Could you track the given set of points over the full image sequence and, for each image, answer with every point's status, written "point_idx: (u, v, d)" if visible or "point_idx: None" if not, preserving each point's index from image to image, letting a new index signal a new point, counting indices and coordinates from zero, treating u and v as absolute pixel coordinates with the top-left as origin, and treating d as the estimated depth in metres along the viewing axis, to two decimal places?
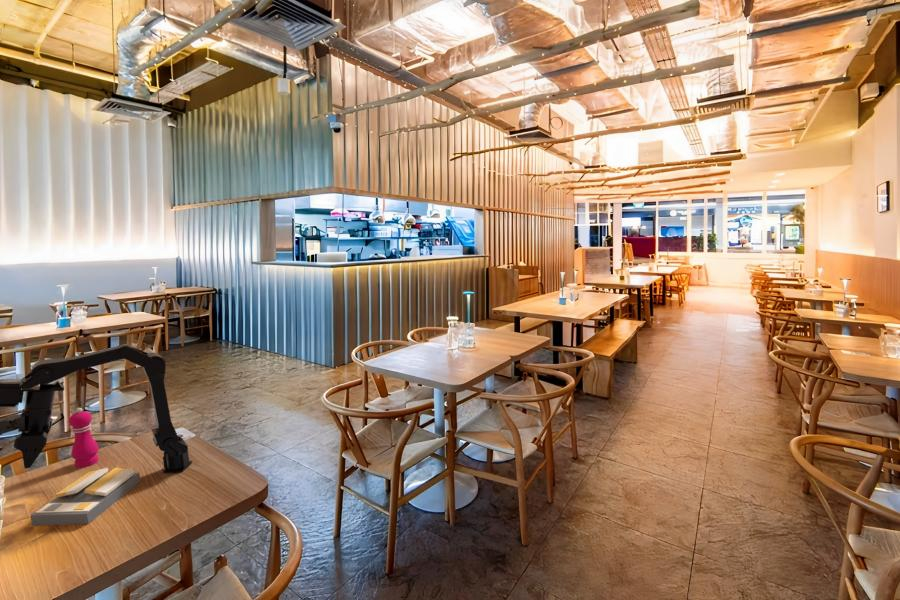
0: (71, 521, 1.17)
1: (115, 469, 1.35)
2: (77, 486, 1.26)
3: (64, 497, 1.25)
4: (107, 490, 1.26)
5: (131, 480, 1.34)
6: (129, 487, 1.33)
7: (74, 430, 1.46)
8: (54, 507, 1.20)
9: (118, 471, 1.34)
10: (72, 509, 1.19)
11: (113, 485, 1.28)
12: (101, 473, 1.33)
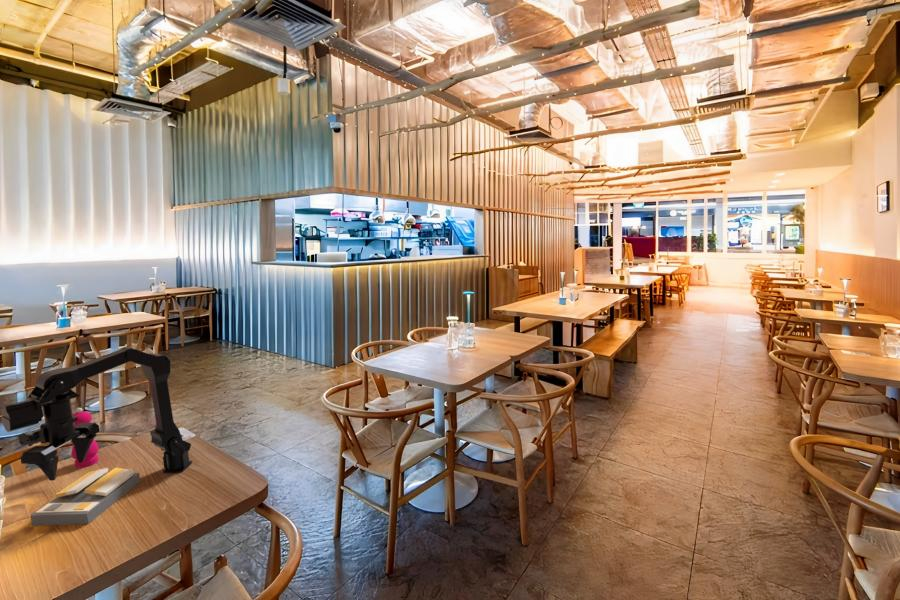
0: (71, 521, 1.17)
1: (115, 469, 1.35)
2: (77, 486, 1.26)
3: (64, 497, 1.25)
4: (107, 490, 1.26)
5: (131, 480, 1.34)
6: (129, 487, 1.33)
7: None
8: (54, 507, 1.20)
9: (118, 471, 1.34)
10: (72, 509, 1.19)
11: (113, 485, 1.28)
12: (101, 473, 1.33)
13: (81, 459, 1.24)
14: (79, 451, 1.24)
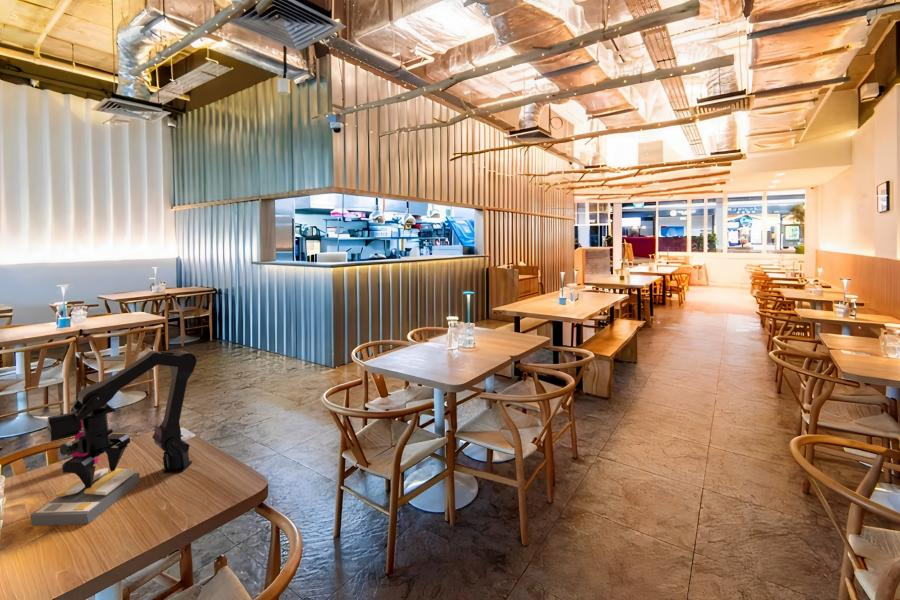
0: (71, 521, 1.17)
1: (115, 470, 1.35)
2: (77, 486, 1.26)
3: (64, 497, 1.25)
4: (107, 489, 1.25)
5: (131, 480, 1.34)
6: (129, 487, 1.33)
7: None
8: (54, 507, 1.20)
9: (118, 471, 1.34)
10: (72, 509, 1.19)
11: (113, 484, 1.28)
12: (101, 473, 1.33)
13: (113, 468, 1.34)
14: (112, 460, 1.34)
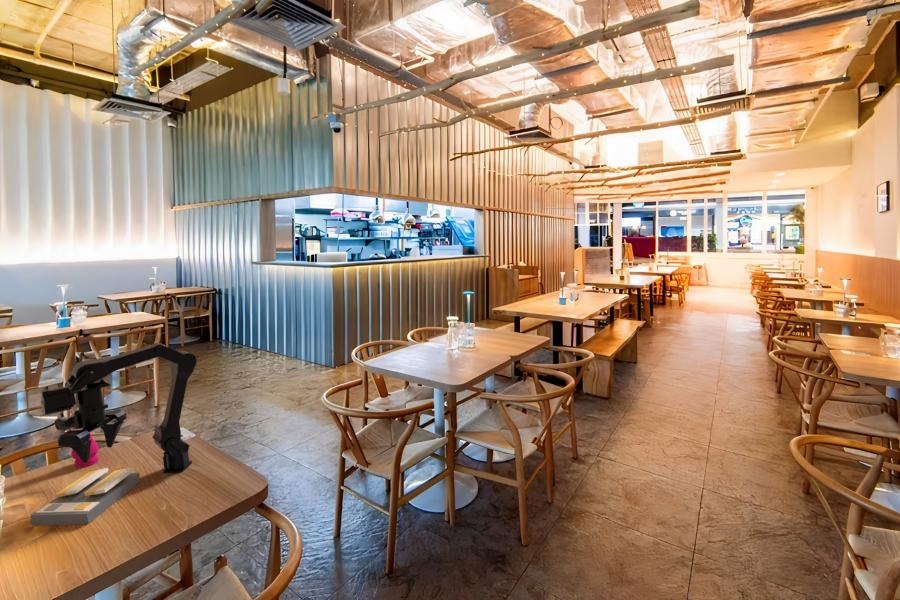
0: (71, 521, 1.17)
1: (114, 472, 1.35)
2: (77, 486, 1.26)
3: (64, 497, 1.25)
4: (105, 487, 1.25)
5: (131, 480, 1.34)
6: (129, 487, 1.33)
7: (74, 430, 1.46)
8: (54, 507, 1.20)
9: (117, 472, 1.34)
10: (72, 509, 1.19)
11: (111, 482, 1.28)
12: (101, 473, 1.33)
13: (110, 444, 1.33)
14: (108, 436, 1.33)
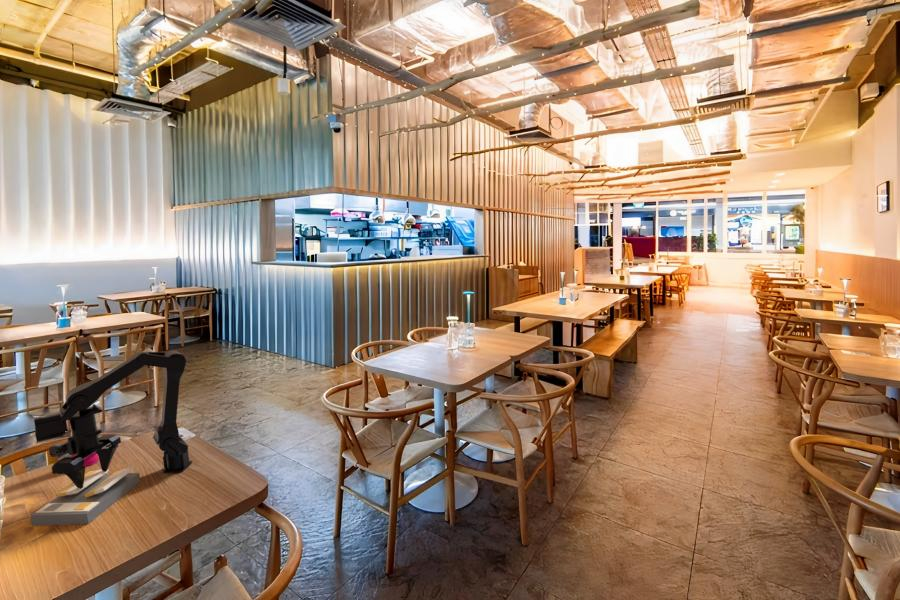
0: (71, 521, 1.17)
1: (114, 473, 1.35)
2: None
3: (64, 497, 1.25)
4: (104, 486, 1.25)
5: (131, 480, 1.34)
6: (129, 487, 1.33)
7: None
8: (54, 507, 1.20)
9: (117, 473, 1.34)
10: (72, 509, 1.19)
11: (110, 481, 1.28)
12: (101, 473, 1.33)
13: (105, 468, 1.34)
14: (103, 461, 1.34)
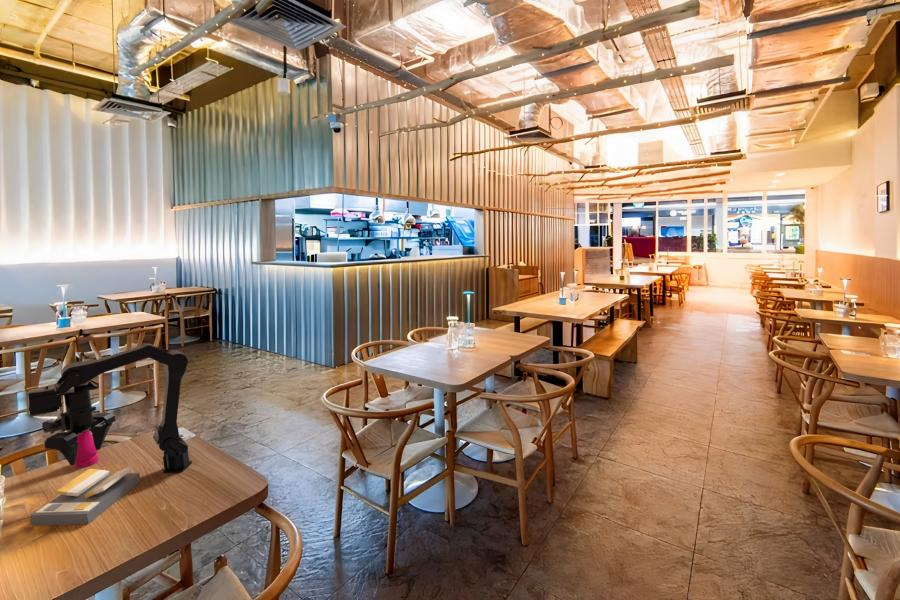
0: (71, 521, 1.17)
1: (114, 473, 1.35)
2: (79, 489, 1.26)
3: (64, 497, 1.25)
4: (104, 485, 1.25)
5: (131, 480, 1.34)
6: (129, 487, 1.33)
7: None
8: (54, 507, 1.20)
9: (117, 473, 1.34)
10: (72, 509, 1.19)
11: (110, 481, 1.28)
12: (102, 476, 1.34)
13: (98, 446, 1.33)
14: (96, 439, 1.33)
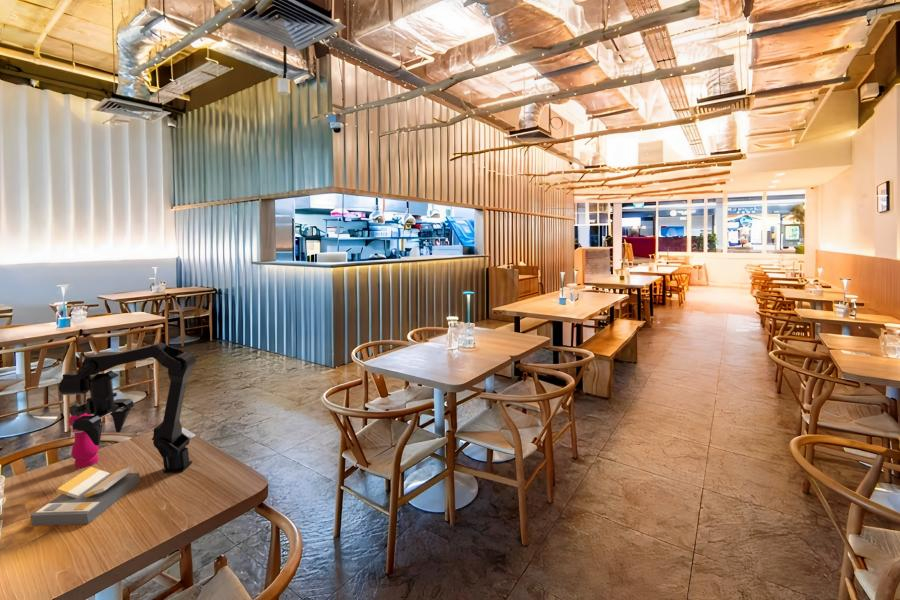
0: (71, 521, 1.17)
1: (114, 473, 1.35)
2: (80, 491, 1.26)
3: (64, 497, 1.25)
4: (104, 486, 1.25)
5: (131, 480, 1.34)
6: (129, 487, 1.33)
7: (74, 430, 1.46)
8: (54, 507, 1.20)
9: (117, 473, 1.34)
10: (72, 509, 1.19)
11: (110, 481, 1.28)
12: (102, 479, 1.34)
13: (119, 429, 1.46)
14: (117, 422, 1.46)
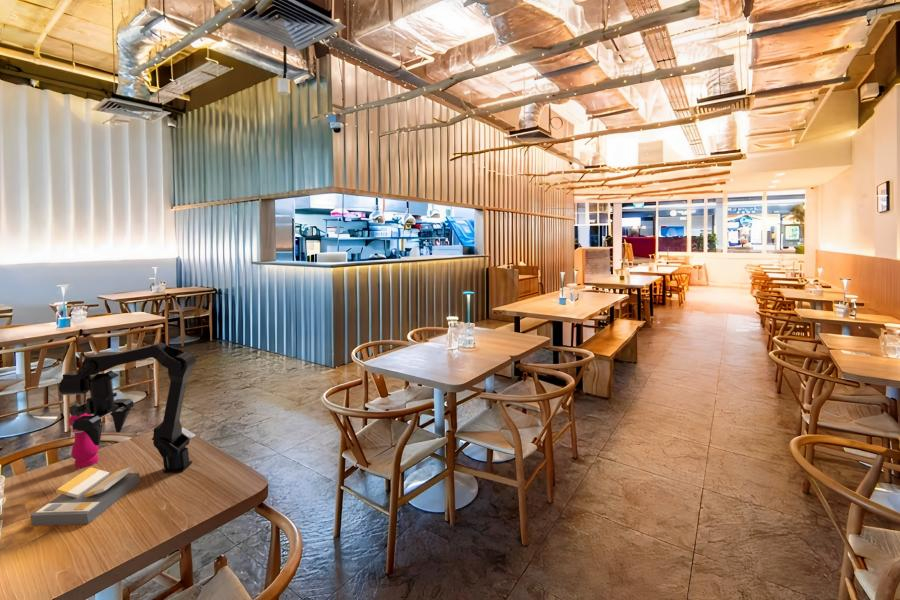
0: (71, 521, 1.17)
1: (114, 473, 1.35)
2: (80, 490, 1.26)
3: (64, 497, 1.25)
4: (104, 486, 1.25)
5: (131, 480, 1.34)
6: (129, 487, 1.33)
7: (74, 430, 1.46)
8: (54, 507, 1.20)
9: (117, 473, 1.34)
10: (72, 509, 1.19)
11: (110, 481, 1.28)
12: (102, 478, 1.34)
13: (119, 429, 1.46)
14: (117, 422, 1.46)
